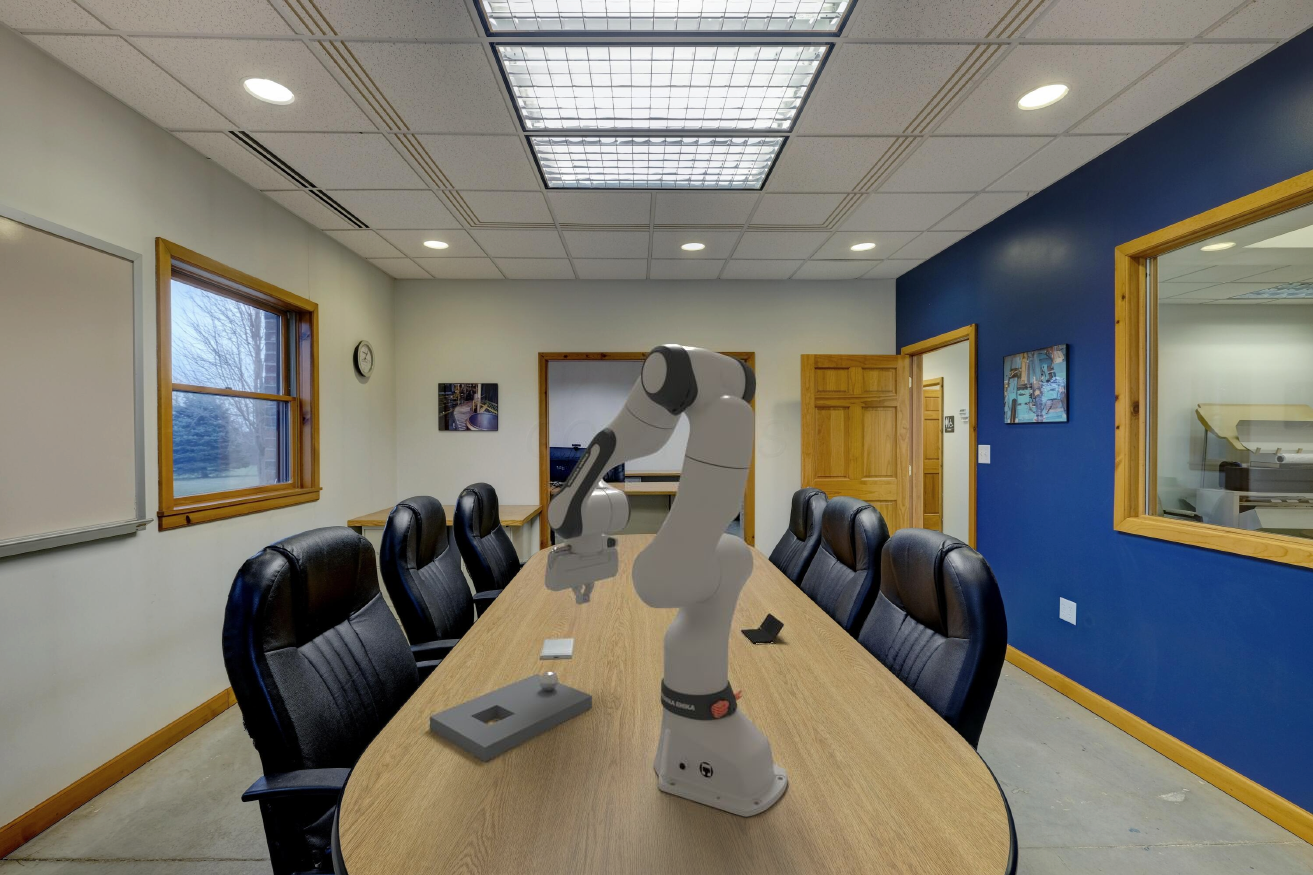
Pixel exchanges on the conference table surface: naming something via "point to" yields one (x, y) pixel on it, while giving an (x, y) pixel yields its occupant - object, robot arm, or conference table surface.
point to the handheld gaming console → (764, 630)
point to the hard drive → (557, 649)
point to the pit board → (508, 716)
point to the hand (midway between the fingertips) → (583, 603)
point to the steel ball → (548, 681)
